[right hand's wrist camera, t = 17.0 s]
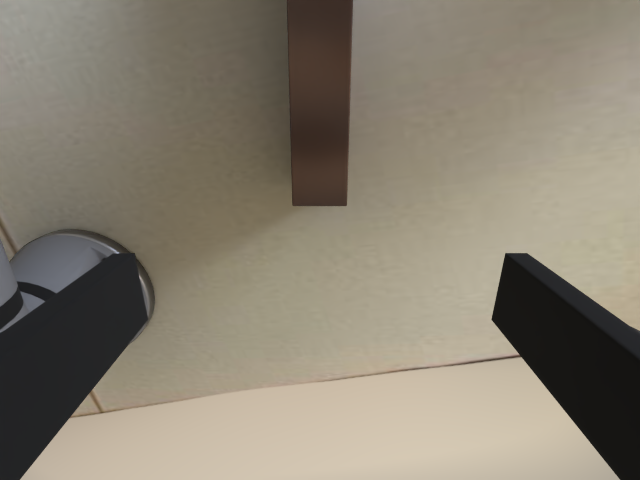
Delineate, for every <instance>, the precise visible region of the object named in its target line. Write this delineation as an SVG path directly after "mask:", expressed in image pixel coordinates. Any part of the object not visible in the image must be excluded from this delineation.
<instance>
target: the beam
mask: <svg viewBox="0 0 640 480" xmlns="http://www.w3.org/2000/svg"><path fill="white" fill-rule="evenodd" d="M352 17H353V0H287V23H288V59H289V95H290V132H291V168H292V204H293V206H347V181H348V148H349V116H350V83H351V50H352Z"/></svg>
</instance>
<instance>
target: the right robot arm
mask: <svg viewBox="0 0 640 480" xmlns="http://www.w3.org/2000/svg"><path fill="white" fill-rule="evenodd" d="M153 310H154V291H153V287H152V284H151V281H150V279H149V277H148V274H147V273H146V271H145V269H144V268H143V267H142V265H141V264H140V263H139V261H138V260H137V259H136V258H135V253H130V252H129V251H127V250H126V249H125V248H124V247H122V246H121V245H119V244H118V243H116V242H114V241H113V240H111V239H109V238H107V237H104V236H102V235H99V234H96V233H93V232H89V231H84V230H72V229H70V230H59V231H55V232H51V233H48V234H46V235H44V236H42V237H39V238H37V239H35V240H33V241H31V242H29V243H28V244H26V245H25V246H24V247H22V248H21V249H20V250H19V251H18V252H17V253H16V254H15V255H14V257H13V258H12V260H11V261H10V262H9V260H8V258H7V255H6V252H5V250H4V247H3V244H2V242H1V239H0V480H20V479H21V477H22V476H23V475H24V474H25V472H26V471H27V470H28V469H29V468H30V466H31V465H32V464H33V462H34V461H35V460H36V459H37V458H38V456H39V455H40V454H41V453H42V451H43V450H44V449H45V448H46V446H47V445H48V444H49V443H50V441H51V440H52V439H53V438H54V436H55V435H56V434H57V433H58V431H59V430H60V429H61V428H62V426H63V425H64V424H65V423H66V422H67V420H68V419H69V418H70V417H71V415H72V414H73V413H74V412H75V410H76V409H77V408H78V407H79V405H80V404H81V403H82V402H83V400H84V399H85V398H86V397H87V395H88V394H89V393H90V392H91V390H92V389H93V388H94V387H95V385H96V384H97V383H98V382H99V380H100V379H101V378H102V377H103V375H104V374H105V373H106V372H107V370H108V369H109V368H110V367H111V366H112V364H113V363H114V362H115V361H116V359H117V358H118V357H119V356H120V354H121V353H122V352H123V351H124V349H125V348H126V347H127V346H128V345H129V344H130V343H131V342H133V341H134V340H135V339H136V338H137V337H138V336H139V335H140V333H141V332H142V331H143V330H144V328H145V327H146V326H147V324H148V323H149V321H150V319H151V317H152V314H153ZM492 321H493V322H494V323H495V324H496V326H497V327H498V328H499V329H500V331H501V332H502V333H503V334H504V336H505V337H506V338H507V339H508V341H509V342H510V343H511V344H512V346H513V347H514V348H515V349H516V351H517V352H518V353H519V354H520V356H521V357H522V358H523V359H524V361H525V362H526V363H527V364H528V366H529V367H530V368H531V369H532V370H533V372H534V373H535V374H536V375H537V377H538V378H539V379H540V380H541V382H542V383H543V384H544V385H545V387H546V388H547V389H548V390H549V392H550V393H551V394H552V395H553V397H554V398H555V399H556V400H557V401H558V403H559V404H560V405H561V407H562V408H563V409H564V410H565V412H566V413H567V414H568V415H569V417H570V418H571V419H572V420H573V421H574V423H575V424H576V425H577V426H578V428H579V429H580V430H581V431H582V433H583V434H584V435H585V436H586V438H587V439H588V440H589V441H590V443H591V444H592V445H593V446H594V448H595V449H596V450H597V451H598V453H599V454H600V455H601V456H602V458H603V459H604V460H605V461H606V463H607V464H608V465H609V466H610V467H611V469H612V470H613V471H614V473H615V474H616V475H617V476H618V477H619V479H620V480H640V331H639V330H637V329H635V328H633V327H630V326H629V325H627V324H626V323H624V322H623V321H622V320H620V319H619V318H617V317H616V316H615V315H613V314H612V313H610V312H609V311H608V310H606V309H605V308H603V307H602V306H600V305H599V304H598V303H596V302H595V301H593V300H592V299H591V298H589V297H588V296H586V295H585V294H584V293H582V292H581V291H579V290H578V289H577V288H575V287H574V286H572V285H571V284H570V283H568V282H567V281H565V280H564V279H562V278H561V277H560V276H558V275H557V274H555V273H554V272H553V271H551V270H550V269H548V268H547V267H546V266H544V265H543V264H541V263H540V262H539V261H537V260H536V259H534V258H533V257H532V256H530V255H529V254H527V253H505V258H504V263H503V267H502V272H501V277H500V282H499V287H498V291H497V296H496V301H495V306H494V310H493V315H492Z"/></svg>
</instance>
